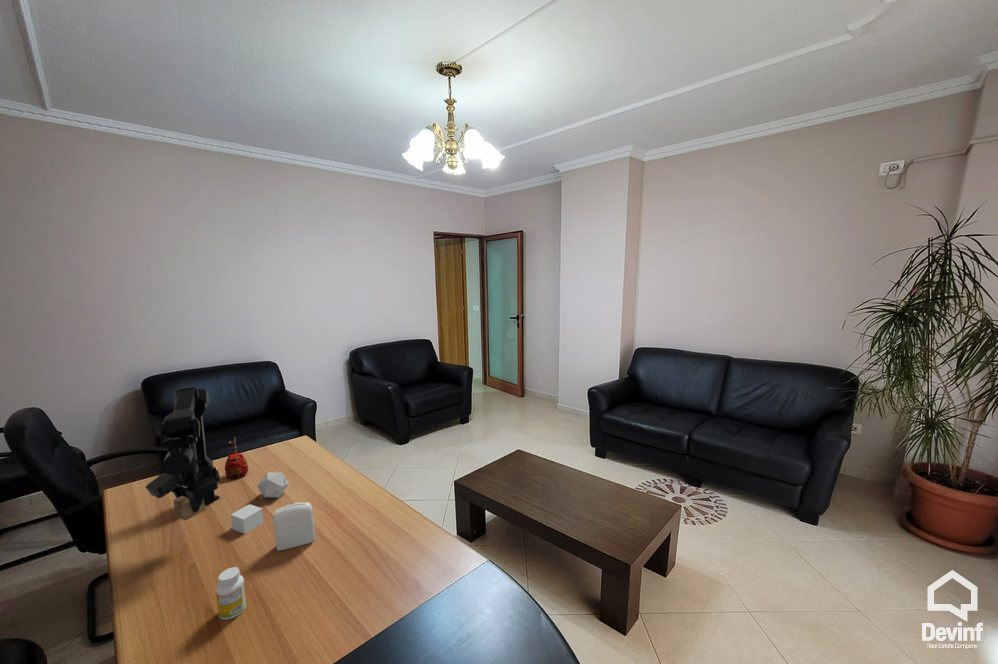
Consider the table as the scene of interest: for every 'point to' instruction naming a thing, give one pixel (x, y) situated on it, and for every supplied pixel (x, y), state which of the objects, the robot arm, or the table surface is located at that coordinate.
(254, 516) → the grey block
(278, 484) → the die
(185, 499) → the brown cube
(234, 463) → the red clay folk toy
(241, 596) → the supplement bottle
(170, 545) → the table surface
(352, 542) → the table surface
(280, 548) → the photo printer
